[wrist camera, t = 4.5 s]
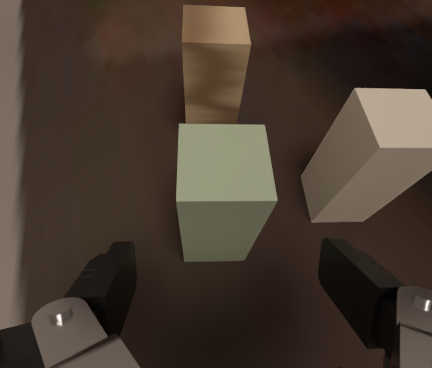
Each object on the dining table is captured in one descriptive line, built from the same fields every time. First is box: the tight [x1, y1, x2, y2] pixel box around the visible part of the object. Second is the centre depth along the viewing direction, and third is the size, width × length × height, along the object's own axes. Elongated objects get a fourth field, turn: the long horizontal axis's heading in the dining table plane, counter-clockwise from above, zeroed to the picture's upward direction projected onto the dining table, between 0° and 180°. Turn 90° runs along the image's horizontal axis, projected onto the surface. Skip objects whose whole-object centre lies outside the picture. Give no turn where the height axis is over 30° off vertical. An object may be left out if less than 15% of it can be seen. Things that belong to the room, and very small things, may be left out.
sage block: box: [176, 124, 278, 262], centre depth 18 cm, size 4×4×10 cm
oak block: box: [182, 5, 251, 124], centre depth 23 cm, size 4×4×10 cm
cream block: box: [301, 88, 432, 222], centre depth 20 cm, size 4×4×10 cm
